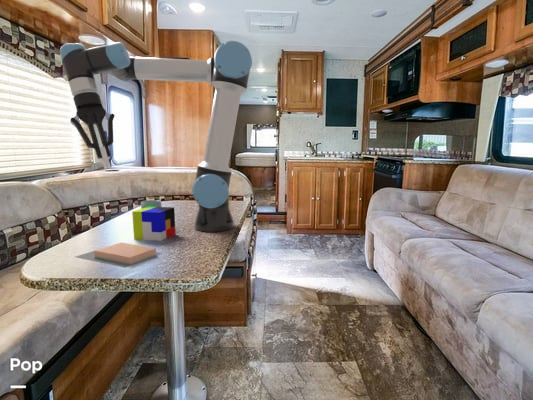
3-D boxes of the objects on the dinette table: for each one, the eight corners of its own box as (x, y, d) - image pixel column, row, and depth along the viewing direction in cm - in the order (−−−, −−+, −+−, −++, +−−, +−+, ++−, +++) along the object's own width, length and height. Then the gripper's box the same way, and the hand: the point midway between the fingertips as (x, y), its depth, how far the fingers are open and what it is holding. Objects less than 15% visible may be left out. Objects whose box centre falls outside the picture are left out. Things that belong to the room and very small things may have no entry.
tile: (94, 250, 92) (130, 257, 86) (121, 242, 100) (155, 248, 94) (94, 257, 92) (130, 264, 86) (121, 248, 100) (156, 255, 94)
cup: (142, 224, 135) (141, 200, 134) (162, 223, 138) (161, 199, 136) (141, 229, 128) (140, 203, 126) (162, 227, 130) (161, 202, 129)
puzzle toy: (161, 242, 109) (159, 212, 108) (134, 240, 111) (132, 211, 110) (175, 234, 119) (174, 207, 118) (150, 233, 121) (148, 206, 120)
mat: (74, 258, 93) (74, 256, 93) (114, 246, 104) (114, 244, 104) (125, 269, 84) (125, 267, 84) (162, 254, 96) (162, 253, 96)
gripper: (106, 98, 111) (126, 166, 112) (62, 101, 104) (84, 173, 105) (109, 89, 105) (130, 161, 106) (62, 92, 98) (85, 169, 99)
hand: (107, 167), depth 105 cm, fingers closed
